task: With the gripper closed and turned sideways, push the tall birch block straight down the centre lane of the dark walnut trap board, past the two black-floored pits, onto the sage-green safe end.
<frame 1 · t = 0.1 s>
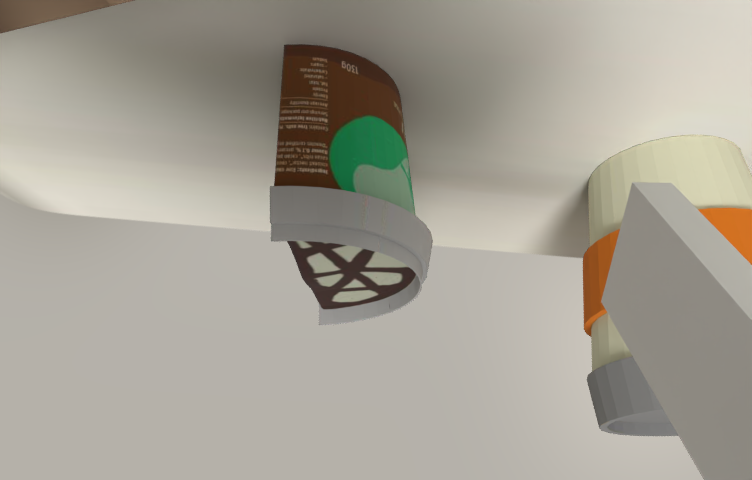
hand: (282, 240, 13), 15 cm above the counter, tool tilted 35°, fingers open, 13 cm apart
reusable coffee cup: (661, 170, 43), on the counter
food container: (363, 97, 35), on the counter
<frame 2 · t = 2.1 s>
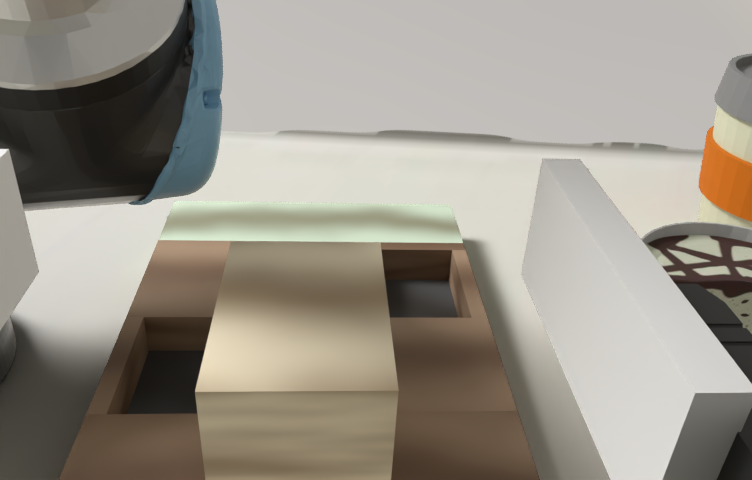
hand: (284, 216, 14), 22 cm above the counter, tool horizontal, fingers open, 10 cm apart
trap board: (310, 365, 43), on the counter
block: (304, 458, 33), point 3 cm above the counter, touching trap board
reusable coffee cup: (750, 254, 57), on the counter
food container: (680, 382, 43), on the counter
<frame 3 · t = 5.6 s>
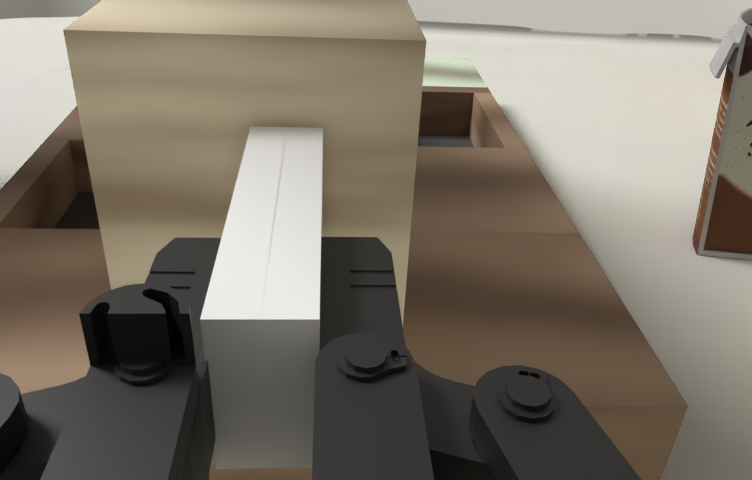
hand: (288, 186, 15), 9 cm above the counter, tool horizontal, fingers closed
trap board: (292, 211, 32), on the counter
block: (277, 276, 22), point 3 cm above the counter, touching gripper
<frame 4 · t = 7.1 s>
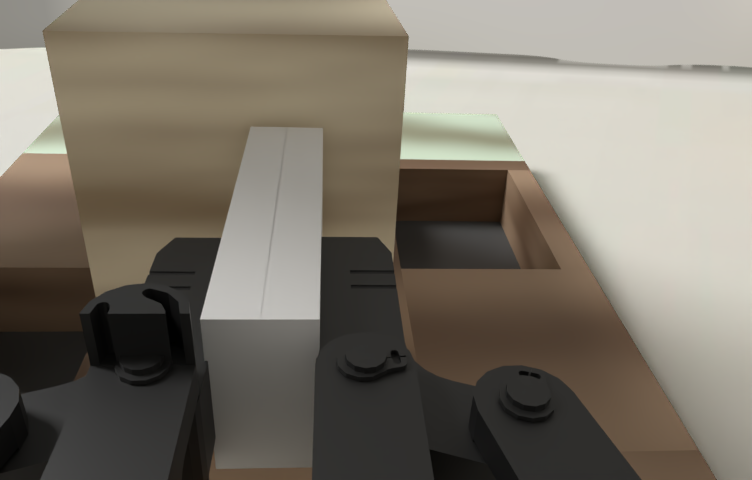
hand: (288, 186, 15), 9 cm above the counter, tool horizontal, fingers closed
trap board: (266, 358, 23), on the counter
block: (258, 276, 22), point 3 cm above the counter
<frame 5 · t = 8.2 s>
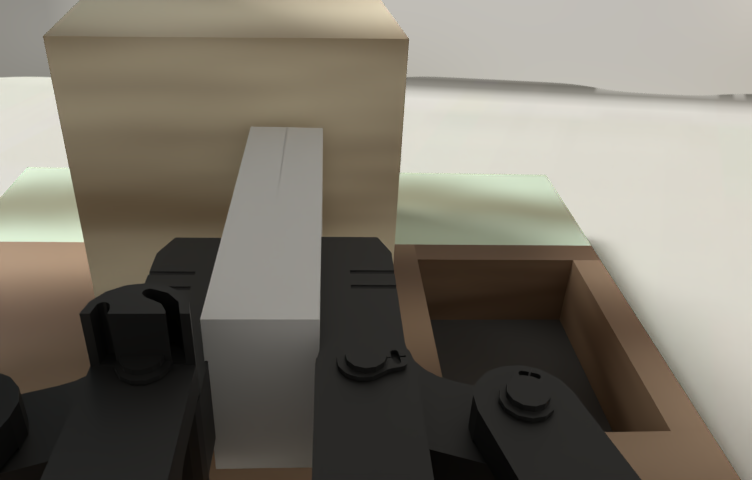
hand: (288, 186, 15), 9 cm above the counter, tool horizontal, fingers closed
block: (254, 278, 22), point 3 cm above the counter
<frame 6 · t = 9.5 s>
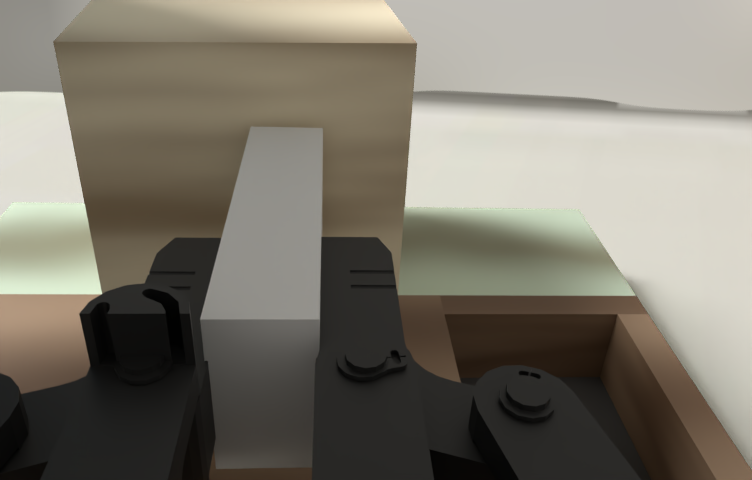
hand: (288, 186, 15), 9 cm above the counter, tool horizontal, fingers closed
block: (259, 280, 22), point 3 cm above the counter, touching gripper, trap board
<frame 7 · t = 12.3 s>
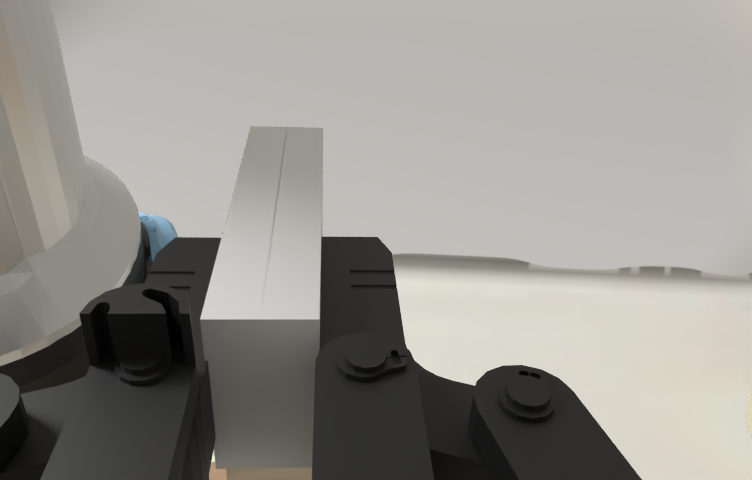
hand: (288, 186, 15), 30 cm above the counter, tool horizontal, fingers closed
block: (290, 450, 43), point 3 cm above the counter, touching trap board
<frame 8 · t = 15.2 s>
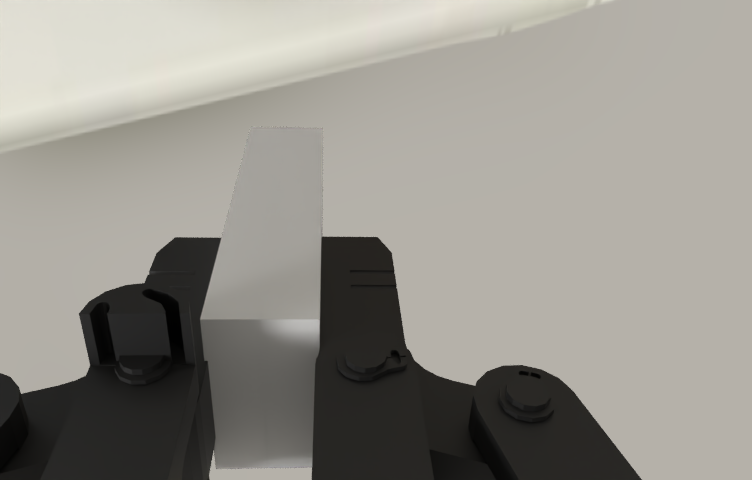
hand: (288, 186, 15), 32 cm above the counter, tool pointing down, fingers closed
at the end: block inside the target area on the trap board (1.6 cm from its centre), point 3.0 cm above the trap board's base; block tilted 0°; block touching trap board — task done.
